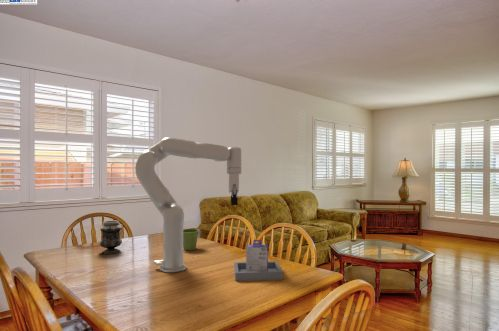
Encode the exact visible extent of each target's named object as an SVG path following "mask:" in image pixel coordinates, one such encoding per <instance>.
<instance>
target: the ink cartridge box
mask: <svg viewBox="0 0 499 331" xmlns="http://www.w3.org/2000/svg"><path fill="white" fill-rule="evenodd" d="M268 245H269V244H262V240H260V239H253V243H252V244H247V246H246V247H245V262H246V272H251V271H268V261H269V248H268Z"/></svg>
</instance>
